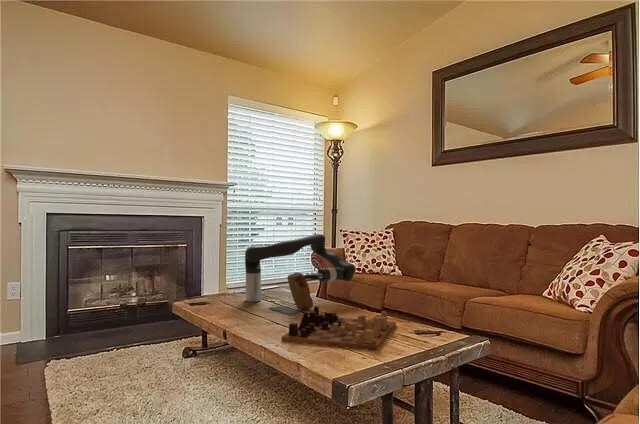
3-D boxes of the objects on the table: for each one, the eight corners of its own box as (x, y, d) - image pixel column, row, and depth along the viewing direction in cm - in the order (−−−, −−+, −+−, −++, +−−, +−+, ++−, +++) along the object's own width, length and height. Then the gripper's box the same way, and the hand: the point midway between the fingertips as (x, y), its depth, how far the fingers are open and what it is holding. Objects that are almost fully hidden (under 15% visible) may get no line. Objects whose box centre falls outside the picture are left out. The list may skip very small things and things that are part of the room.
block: (295, 308, 241) (284, 276, 237) (305, 302, 245) (295, 270, 241) (305, 312, 232) (295, 278, 228) (316, 305, 236) (306, 272, 232)
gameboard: (376, 352, 164) (376, 328, 164) (281, 342, 178) (281, 320, 178) (395, 327, 201) (395, 307, 201) (316, 320, 215) (315, 302, 215)
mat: (268, 308, 242) (268, 307, 242) (280, 306, 246) (280, 305, 246) (288, 314, 226) (288, 313, 226) (300, 312, 230) (300, 311, 230)
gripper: (319, 267, 253) (295, 269, 243) (334, 269, 243) (309, 271, 232) (319, 279, 253) (295, 282, 243) (334, 282, 243) (309, 285, 232)
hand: (302, 277), depth 238 cm, fingers closed
